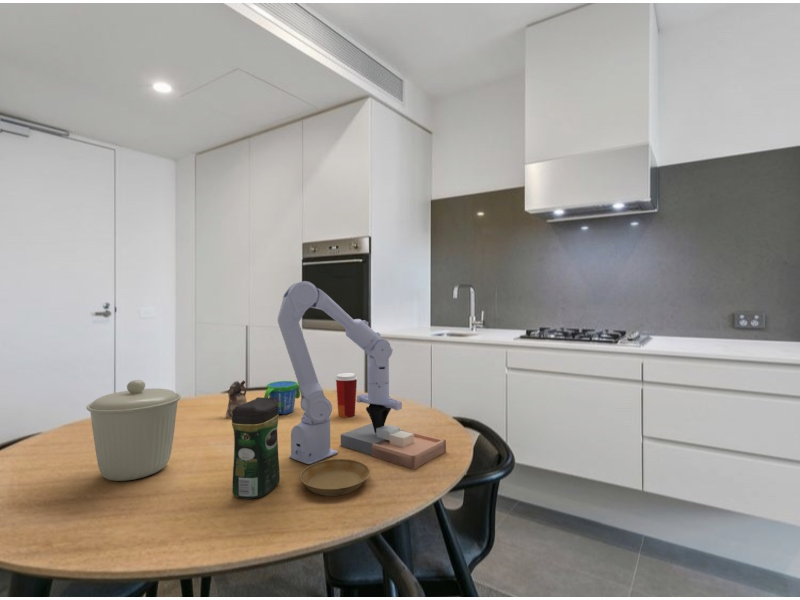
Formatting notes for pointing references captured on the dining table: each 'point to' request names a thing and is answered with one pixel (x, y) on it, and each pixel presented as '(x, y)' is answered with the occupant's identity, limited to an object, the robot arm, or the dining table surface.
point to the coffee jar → (255, 448)
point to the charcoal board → (361, 439)
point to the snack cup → (283, 395)
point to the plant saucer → (335, 476)
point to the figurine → (235, 397)
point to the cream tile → (401, 438)
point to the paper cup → (346, 394)
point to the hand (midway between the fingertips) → (378, 432)
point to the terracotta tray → (411, 451)
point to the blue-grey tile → (386, 431)
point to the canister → (133, 431)
